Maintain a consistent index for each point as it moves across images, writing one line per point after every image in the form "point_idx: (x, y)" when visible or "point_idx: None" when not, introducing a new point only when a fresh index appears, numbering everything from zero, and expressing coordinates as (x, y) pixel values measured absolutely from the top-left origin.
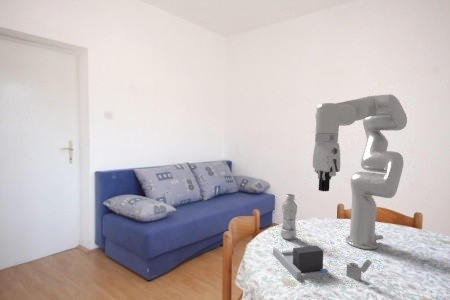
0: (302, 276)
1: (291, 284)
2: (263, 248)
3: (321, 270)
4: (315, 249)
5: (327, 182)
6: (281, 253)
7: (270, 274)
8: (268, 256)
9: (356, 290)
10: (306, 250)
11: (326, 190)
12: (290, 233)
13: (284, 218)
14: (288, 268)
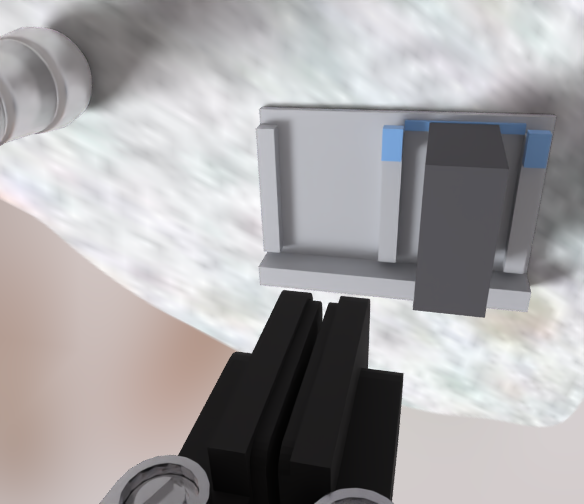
0: (523, 266)
1: (534, 317)
2: (185, 266)
3: (535, 166)
4: (477, 207)
5: (390, 500)
6: (323, 276)
7: (431, 351)
8: None
9: None
10: (469, 264)
11: (367, 347)
12: (71, 96)
13: None
14: None
